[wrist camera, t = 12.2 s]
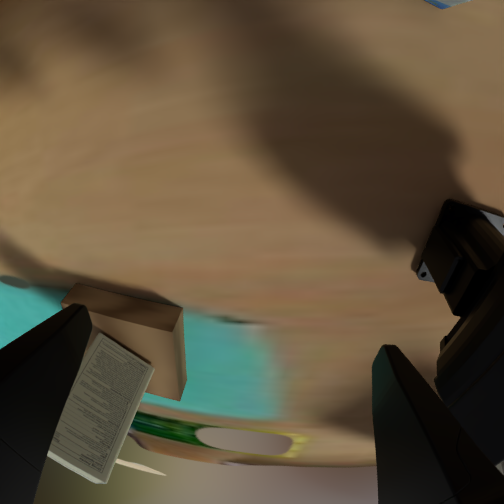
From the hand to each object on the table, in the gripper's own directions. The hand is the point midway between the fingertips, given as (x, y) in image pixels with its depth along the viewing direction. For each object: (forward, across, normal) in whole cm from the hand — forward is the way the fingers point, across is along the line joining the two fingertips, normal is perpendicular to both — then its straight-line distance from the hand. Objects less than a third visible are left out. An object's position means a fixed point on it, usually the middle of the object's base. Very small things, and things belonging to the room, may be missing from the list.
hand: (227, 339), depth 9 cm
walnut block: (+14, +11, +17) cm, 25 cm away
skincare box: (+10, +11, +17) cm, 23 cm away
